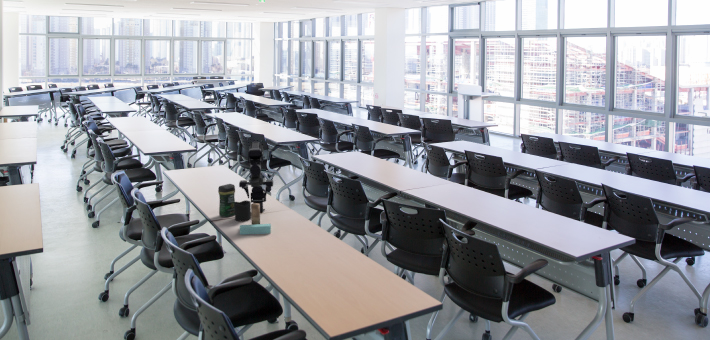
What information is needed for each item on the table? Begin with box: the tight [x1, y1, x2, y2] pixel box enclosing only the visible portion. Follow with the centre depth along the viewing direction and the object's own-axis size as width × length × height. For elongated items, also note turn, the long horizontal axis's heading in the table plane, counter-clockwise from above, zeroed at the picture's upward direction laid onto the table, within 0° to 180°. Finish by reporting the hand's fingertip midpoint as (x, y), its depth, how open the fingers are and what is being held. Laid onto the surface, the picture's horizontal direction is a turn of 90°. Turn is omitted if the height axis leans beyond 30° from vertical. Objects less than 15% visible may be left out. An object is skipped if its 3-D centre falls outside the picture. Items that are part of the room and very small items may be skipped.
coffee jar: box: [217, 183, 236, 218], centre depth 319 cm, size 10×8×19 cm
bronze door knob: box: [250, 202, 261, 225], centre depth 294 cm, size 6×6×14 cm
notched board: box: [239, 223, 272, 236], centre depth 293 cm, size 12×16×4 cm
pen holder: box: [234, 200, 252, 222], centre depth 312 cm, size 9×9×10 cm
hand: (257, 198), depth 309 cm, fingers open, 9 cm apart
